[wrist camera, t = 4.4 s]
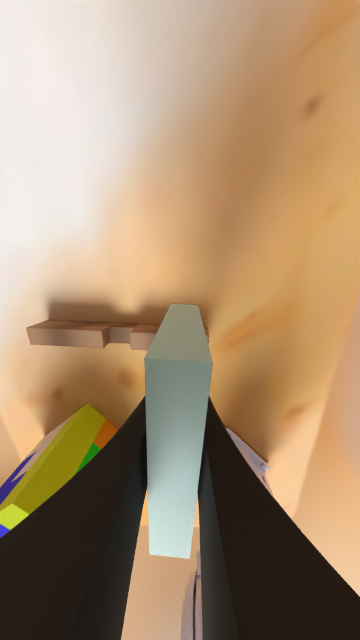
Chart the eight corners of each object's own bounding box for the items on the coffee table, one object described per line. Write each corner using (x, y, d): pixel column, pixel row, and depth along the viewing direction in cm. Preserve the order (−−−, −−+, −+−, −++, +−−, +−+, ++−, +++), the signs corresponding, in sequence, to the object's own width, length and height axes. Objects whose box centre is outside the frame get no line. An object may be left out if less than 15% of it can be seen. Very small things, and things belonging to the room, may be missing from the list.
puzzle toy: (44, 435, 24) (-48, 542, 15) (87, 402, 22) (11, 503, 13) (95, 473, 26) (41, 589, 17) (139, 446, 24) (107, 563, 15)
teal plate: (171, 303, 11) (144, 357, 4) (198, 304, 11) (212, 362, 4) (168, 418, 14) (149, 553, 7) (189, 420, 14) (189, 558, 7)
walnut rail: (206, 327, 18) (209, 336, 16) (205, 341, 19) (207, 353, 16) (47, 320, 19) (26, 327, 16) (50, 334, 19) (30, 344, 17)
